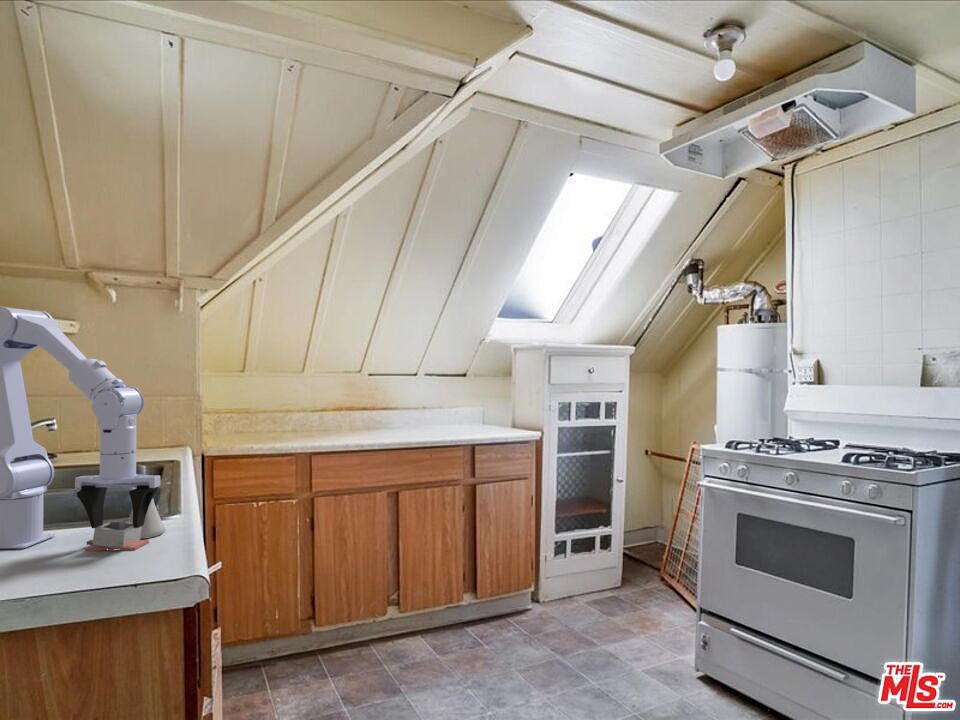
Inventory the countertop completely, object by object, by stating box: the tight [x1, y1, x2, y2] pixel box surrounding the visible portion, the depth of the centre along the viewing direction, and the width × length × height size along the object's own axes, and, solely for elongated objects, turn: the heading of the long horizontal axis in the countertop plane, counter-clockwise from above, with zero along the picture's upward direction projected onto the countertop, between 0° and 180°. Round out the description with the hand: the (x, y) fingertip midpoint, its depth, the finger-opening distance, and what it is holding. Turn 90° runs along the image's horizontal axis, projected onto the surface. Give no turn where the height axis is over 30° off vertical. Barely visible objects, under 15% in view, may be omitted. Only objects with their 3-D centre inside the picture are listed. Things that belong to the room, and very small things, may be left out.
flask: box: [127, 487, 166, 540], centre depth 114 cm, size 7×7×10 cm
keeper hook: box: [84, 519, 150, 551], centre depth 107 cm, size 10×4×5 cm, turn 90°
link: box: [92, 519, 142, 549], centre depth 106 cm, size 5×5×3 cm
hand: (117, 526), depth 107 cm, fingers open, 7 cm apart
